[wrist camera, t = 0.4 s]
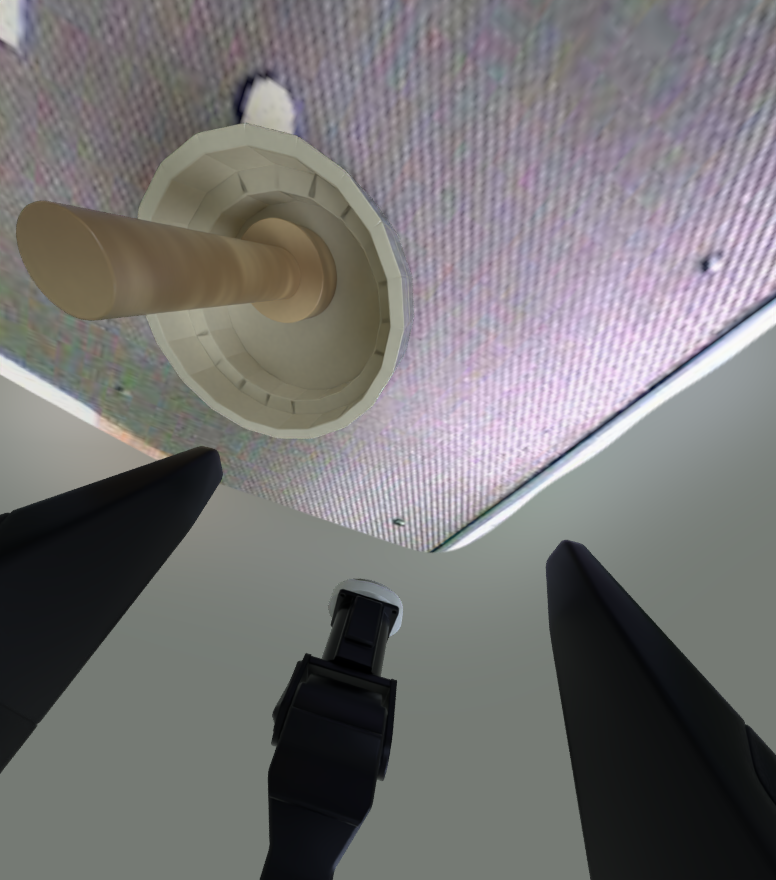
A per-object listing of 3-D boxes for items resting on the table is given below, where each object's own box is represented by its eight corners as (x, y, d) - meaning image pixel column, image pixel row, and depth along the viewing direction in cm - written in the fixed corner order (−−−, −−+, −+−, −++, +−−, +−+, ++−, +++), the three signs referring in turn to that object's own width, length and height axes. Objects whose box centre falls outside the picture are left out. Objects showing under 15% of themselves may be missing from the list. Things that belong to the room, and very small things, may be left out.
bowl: (386, 429, 24) (370, 466, 19) (212, 378, 25) (154, 402, 20) (444, 203, 17) (443, 171, 12) (200, 140, 18) (107, 87, 13)
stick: (331, 327, 21) (173, 390, 9) (257, 307, 21) (8, 342, 9) (343, 236, 18) (146, 154, 6) (259, 214, 18) (-82, 95, 7)
